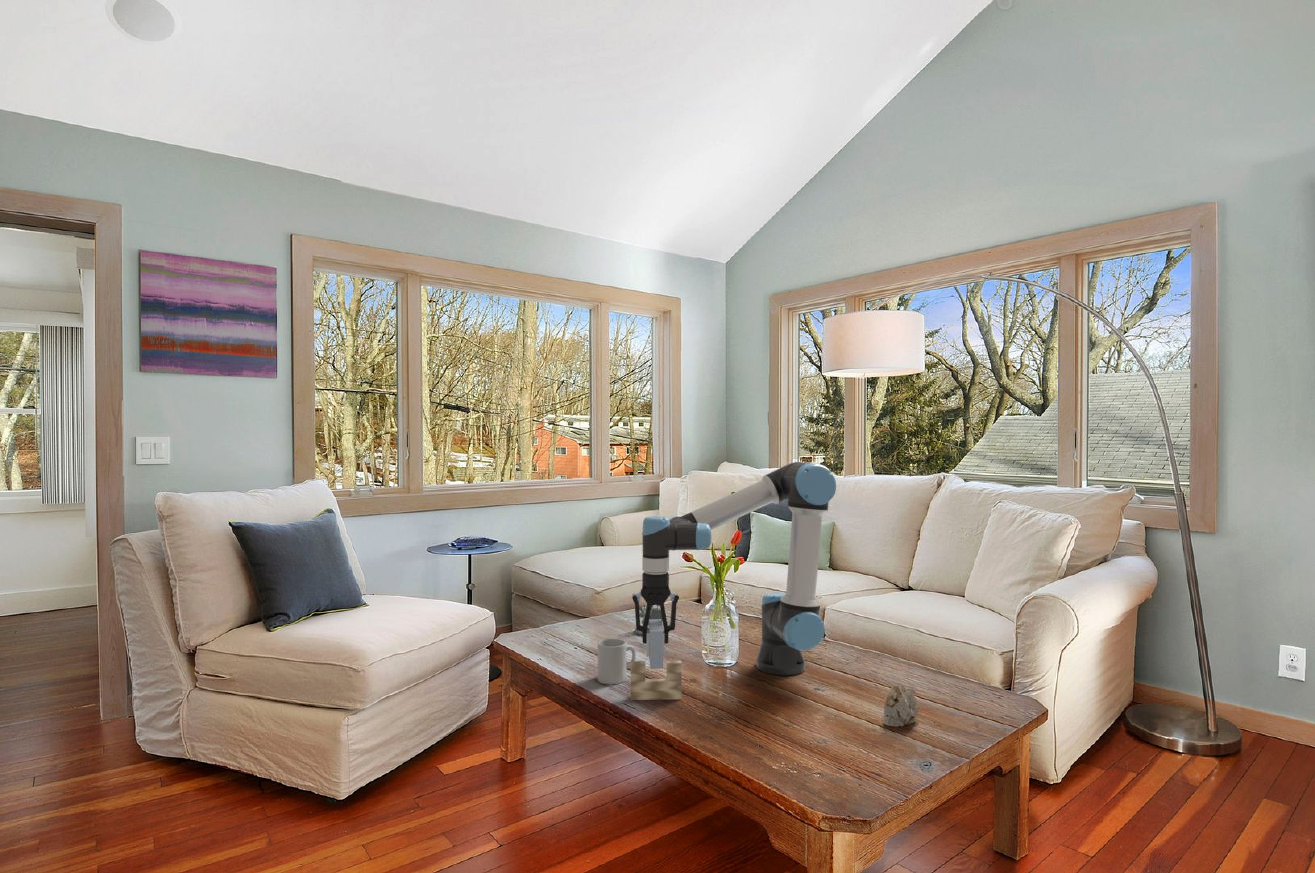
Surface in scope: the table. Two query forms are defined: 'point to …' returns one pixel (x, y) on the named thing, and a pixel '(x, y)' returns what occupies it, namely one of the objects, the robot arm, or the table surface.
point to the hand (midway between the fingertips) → (655, 654)
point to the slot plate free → (656, 643)
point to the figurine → (654, 614)
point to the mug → (613, 660)
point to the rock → (900, 706)
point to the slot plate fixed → (656, 683)
